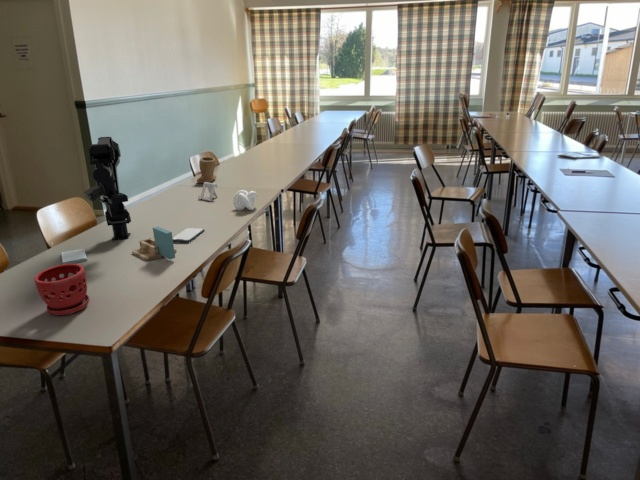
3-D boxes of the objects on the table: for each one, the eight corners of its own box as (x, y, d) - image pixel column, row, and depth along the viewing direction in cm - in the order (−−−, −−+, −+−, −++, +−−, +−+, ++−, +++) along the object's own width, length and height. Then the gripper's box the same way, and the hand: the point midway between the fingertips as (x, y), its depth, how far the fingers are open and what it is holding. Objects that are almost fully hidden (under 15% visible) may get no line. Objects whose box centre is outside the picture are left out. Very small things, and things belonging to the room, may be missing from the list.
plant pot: (66, 296, 152) (58, 261, 148) (101, 301, 148) (93, 265, 144) (32, 316, 140) (22, 278, 136) (69, 321, 137) (60, 283, 133)
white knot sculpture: (260, 211, 234) (258, 193, 231) (235, 213, 232) (233, 195, 229) (257, 205, 245) (255, 188, 241) (233, 207, 242) (231, 190, 239)
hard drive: (86, 258, 180) (83, 247, 190) (62, 262, 176) (60, 252, 186) (87, 262, 180) (84, 251, 191) (63, 266, 177) (61, 256, 187)
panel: (156, 252, 182) (152, 227, 179) (161, 251, 184) (157, 226, 180) (170, 259, 176) (166, 233, 172) (175, 257, 177) (171, 232, 174)
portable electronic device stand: (198, 199, 258) (196, 184, 256) (209, 196, 264) (207, 181, 262) (209, 201, 254) (207, 186, 251) (220, 198, 260) (219, 183, 257)
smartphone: (186, 231, 211) (169, 243, 196) (186, 227, 211) (168, 239, 196) (205, 232, 209) (189, 244, 195) (205, 228, 209) (189, 240, 194)
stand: (132, 253, 186) (130, 243, 184) (160, 244, 194) (159, 235, 192) (147, 261, 178) (146, 251, 176) (176, 251, 186) (175, 242, 184)
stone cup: (213, 184, 291) (210, 159, 286) (194, 184, 293) (191, 159, 287) (221, 178, 305) (219, 154, 300) (203, 178, 307) (200, 154, 301)
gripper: (74, 178, 182) (82, 217, 188) (94, 185, 170) (103, 227, 175) (103, 172, 190) (110, 211, 195) (125, 179, 177) (132, 219, 183)
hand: (113, 217), depth 187 cm, fingers closed
